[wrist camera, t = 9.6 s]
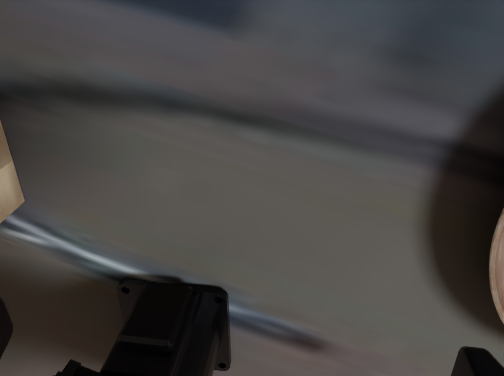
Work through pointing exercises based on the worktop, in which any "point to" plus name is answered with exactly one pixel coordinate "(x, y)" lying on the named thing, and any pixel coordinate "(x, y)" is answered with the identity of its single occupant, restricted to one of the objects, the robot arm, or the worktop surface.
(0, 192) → the socket block
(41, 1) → the worktop surface
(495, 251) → the plant saucer
